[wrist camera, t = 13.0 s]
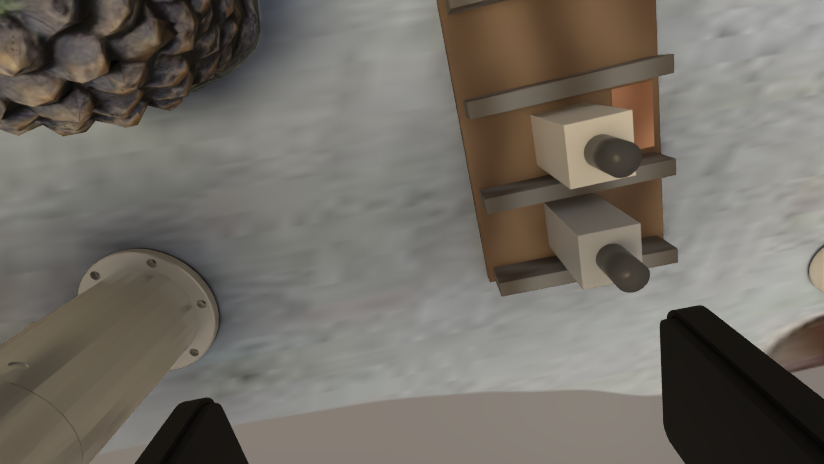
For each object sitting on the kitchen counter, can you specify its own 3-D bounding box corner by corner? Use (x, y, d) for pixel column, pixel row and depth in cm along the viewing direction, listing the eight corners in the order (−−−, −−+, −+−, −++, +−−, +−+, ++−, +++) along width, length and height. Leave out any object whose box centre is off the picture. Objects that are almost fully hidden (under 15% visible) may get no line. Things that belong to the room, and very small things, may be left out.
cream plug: (530, 114, 33) (582, 131, 22) (582, 102, 32) (659, 113, 22) (537, 164, 34) (588, 202, 24) (587, 153, 34) (662, 187, 23)
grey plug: (549, 246, 36) (600, 312, 26) (543, 202, 35) (595, 253, 25) (596, 236, 36) (667, 300, 26) (592, 191, 35) (666, 239, 24)
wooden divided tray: (487, 276, 39) (495, 298, 35) (436, 0, 31) (439, -12, 27) (656, 242, 38) (684, 262, 34) (645, -54, 30) (679, -75, 26)
